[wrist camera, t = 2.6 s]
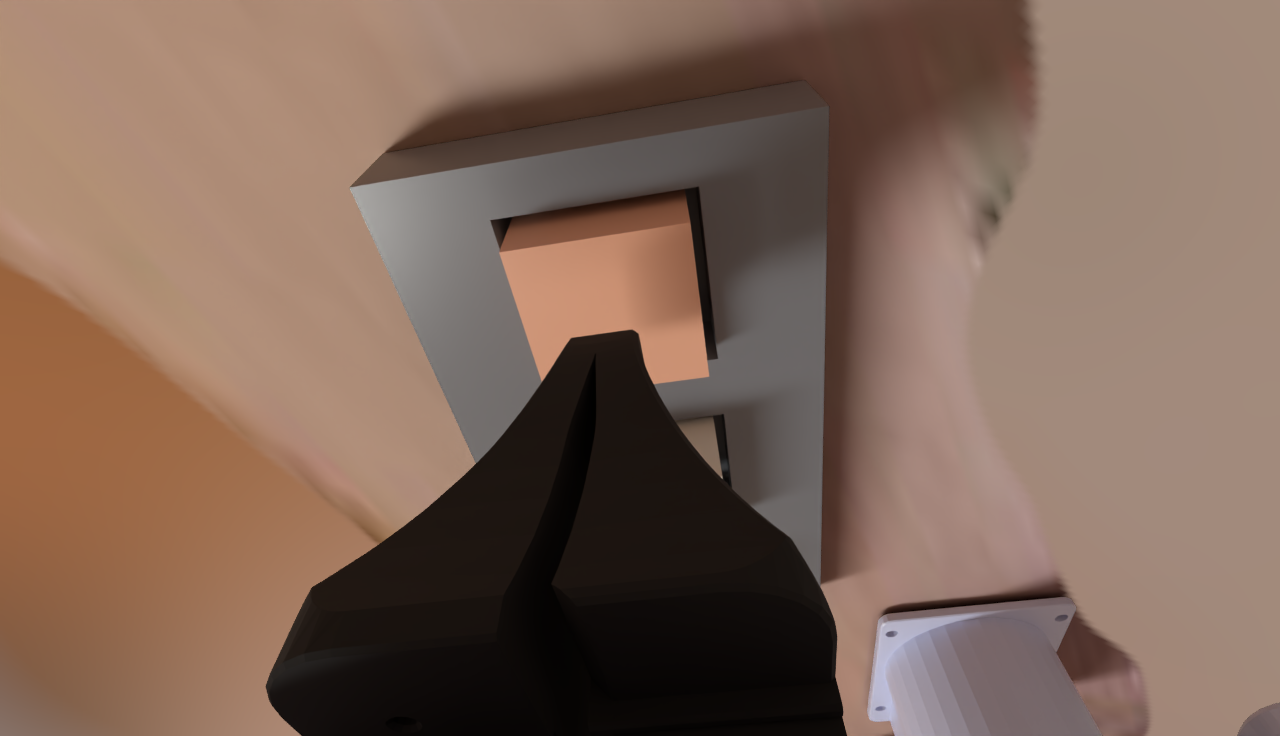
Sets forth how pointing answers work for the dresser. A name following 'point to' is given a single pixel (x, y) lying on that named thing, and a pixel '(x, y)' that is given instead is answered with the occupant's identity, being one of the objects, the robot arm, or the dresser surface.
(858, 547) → the dresser surface
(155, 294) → the dresser surface
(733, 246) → the grey flat frame
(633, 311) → the terracotta key
